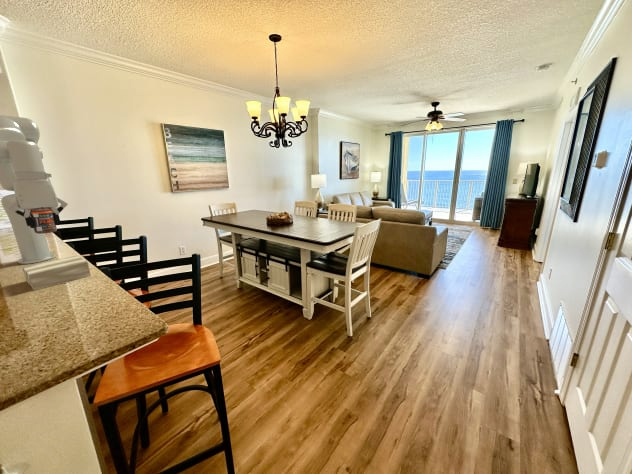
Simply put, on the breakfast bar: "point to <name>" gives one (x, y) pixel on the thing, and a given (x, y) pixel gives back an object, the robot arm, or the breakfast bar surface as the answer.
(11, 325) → the breakfast bar surface
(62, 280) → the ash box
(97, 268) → the breakfast bar surface
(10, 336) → the breakfast bar surface
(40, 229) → the supplement bottle
